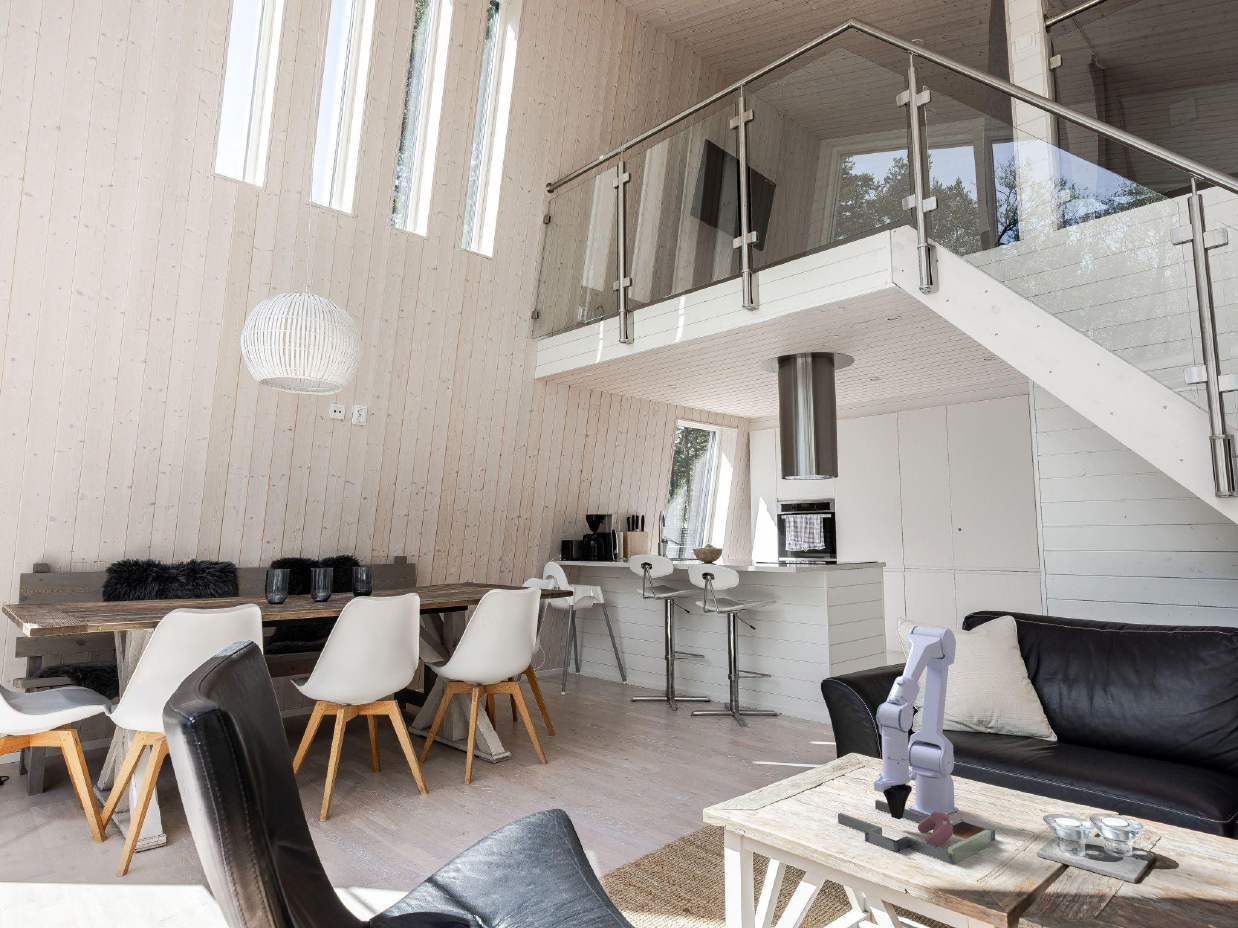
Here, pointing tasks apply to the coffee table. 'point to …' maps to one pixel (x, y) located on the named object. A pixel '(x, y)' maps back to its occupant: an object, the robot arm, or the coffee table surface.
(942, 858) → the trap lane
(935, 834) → the video game controller
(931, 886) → the coffee table surface
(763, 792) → the coffee table surface
